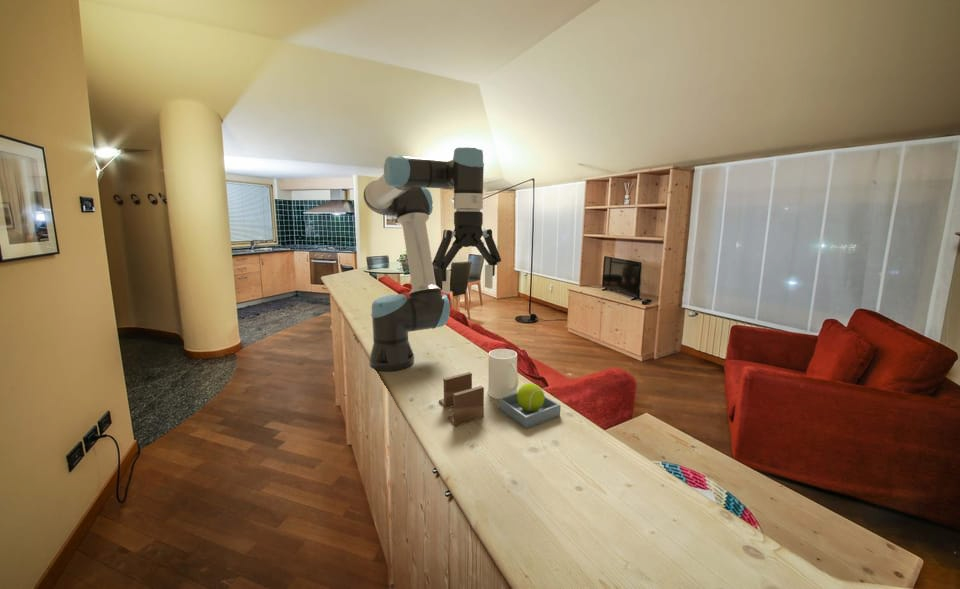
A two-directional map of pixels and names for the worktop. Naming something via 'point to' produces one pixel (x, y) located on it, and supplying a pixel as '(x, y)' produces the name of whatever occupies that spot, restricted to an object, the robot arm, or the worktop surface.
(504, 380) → the mug
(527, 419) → the dish
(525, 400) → the tennis ball
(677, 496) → the worktop surface
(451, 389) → the bookend
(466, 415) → the bookend
